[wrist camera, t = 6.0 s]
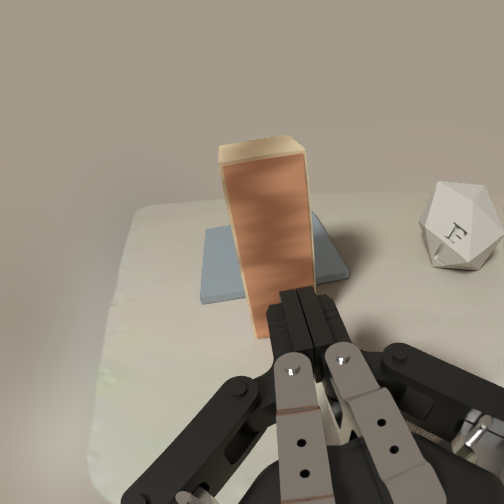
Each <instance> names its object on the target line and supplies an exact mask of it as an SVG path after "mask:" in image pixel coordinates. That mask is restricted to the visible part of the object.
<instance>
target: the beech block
mask: <svg viewBox="0 0 504 504" xmlns="http://www.w3.org/2000/svg"><path fill="white" fill-rule="evenodd" d="M218 165H219V170H220V175H221V180H222V185H223V190H224V195H225V200H226V205H227V210H228V214H229V219H230V224H231V229H232V234H233V239H234V243H235V248H236V253H237V258H238V262H239V267H240V272H241V277H242V281H243V286H244V291H245V295H246V300H247V304H248V309H249V314H250V318H251V323H252V327H253V332H254V336H255V340H256V339H262V338H268V337H270V334H269V329H268V323H267V317H266V312H267V310H268V307H269V305H272V304H278V303H280V299H279V291H284V290H290V289H295V290H296V288H300V287H305V286H310V285H312V286H313V288H314V291H315V293H316V278H315V260H314V243H313V228H312V215H311V202H310V191H309V180H308V169H307V159H306V150H305V149H304V148H303V147H302V146H301V145H300V144H299V143H298V142H296V141H295V140H294V139H293V138H292V137H291V136H289V135H285V136H278V137H270V138H264V139H258V140H251V141H245V142H240V143H234V144H228V145H223V146H220V147H219V158H218Z"/></svg>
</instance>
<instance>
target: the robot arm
mask: <svg viewBox="0 0 504 504" xmlns="http://www.w3.org/2000/svg"><path fill="white" fill-rule="evenodd" d="M279 299H280V303H278V304H272V305H269V307H268V310H267V312H266V317H267V323H268V329H269V334H270V340H271V346H272V351H273V357H274V361H273V365H272V367H271V368H270V369H269V370H268V371H267V372H266V373H265V374H263V375H261V376H259V377H257V378H255V379H251V378H249V377H246V376H236V377H233V378H230V379H229V380H227V381H226V382H225V383H224V384H223V385H222V386H221V387H220V389H219V390H218V391H217V392H216V393H215V394H214V396H213V397H212V398H211V399H210V400H209V401H208V403H207V404H206V405H205V406H204V407H203V408H202V410H201V411H200V412H199V413H198V414H197V415H196V416H195V417H194V419H193V420H192V421H191V422H190V423H189V424H188V425H187V427H186V428H185V429H184V430H183V431H182V432H181V433H180V434H179V435H178V437H177V438H176V439H175V440H174V441H173V442H172V443H171V444H170V445H169V446H168V447H167V449H166V450H165V451H164V452H163V453H162V454H161V455H160V456H159V457H158V458H157V459H156V460H155V461H154V462H153V464H152V465H151V466H150V467H149V468H148V469H147V470H146V471H145V472H144V473H143V474H142V475H141V476H140V477H139V478H138V479H137V480H136V481H135V482H134V483H133V484H132V485H131V486H130V487H129V488H128V489H127V490H126V491H125V493H124V494H123V496H122V498H121V504H219V503H218V501H217V500H216V499H215V498H214V497H215V496H216V495H217V493H218V492H219V491H220V490H221V489H222V487H223V486H224V485H225V484H226V482H227V481H228V480H229V479H230V477H231V476H232V475H233V474H234V472H235V471H236V470H237V468H238V467H239V466H240V465H241V463H242V462H243V461H244V459H245V458H246V457H247V455H248V454H249V453H250V451H251V450H252V449H253V447H254V446H255V445H256V443H257V442H258V441H259V439H260V438H261V436H262V435H263V434H264V432H265V431H266V429H267V427H269V426H271V425H273V424H275V423H276V424H277V440H278V456H279V460H277V461H275V462H274V463H272V464H271V465H269V466H268V467H267V468H265V469H264V470H263V471H262V472H261V473H260V474H259V475H258V477H257V478H256V479H255V481H254V482H253V484H252V485H251V487H250V488H249V489H248V491H247V492H246V494H245V495H244V496H243V498H242V499H241V501H240V502H239V503H238V504H504V486H503V484H502V482H501V480H500V479H499V478H498V476H499V474H500V472H501V469H502V467H503V465H504V388H503V387H501V386H498V385H496V384H494V383H491V382H489V381H487V380H485V379H482V378H480V377H478V376H476V375H474V374H471V373H469V372H467V371H465V370H462V369H460V368H458V367H456V366H454V365H451V364H449V363H447V362H445V361H442V360H440V359H438V358H436V357H434V356H431V355H429V354H427V353H425V352H423V351H421V350H418V349H416V348H414V347H412V346H410V345H407V344H405V343H393V344H390V345H389V346H387V347H386V348H385V349H384V351H383V352H367V351H363V350H360V349H359V348H358V347H357V346H355V345H354V344H353V343H352V342H351V340H350V338H349V335H348V333H347V331H346V328H345V326H344V324H343V321H342V319H341V317H340V314H339V312H338V311H337V308H336V305H335V303H334V301H333V300H332V299H331V298H330V297H328V296H327V295H326V294H324V295H319V296H316V293H315V291H314V288H313V286H312V285H310V286H305V287H300V288H296V290H295V289H290V290H284V291H279ZM314 378H315V381H316V383H319V382H322V383H323V387H324V397H325V400H326V403H327V406H328V408H329V411H330V414H331V416H332V419H333V421H334V424H335V427H336V429H337V432H338V436H339V443H340V445H339V446H326V441H325V434H324V428H323V422H322V416H321V410H320V407H319V406H318V401H317V395H316V389H315V383H314ZM404 419H405V420H407V421H409V422H411V423H413V424H415V425H417V426H418V427H420V428H422V429H424V430H426V431H428V432H430V433H432V434H434V435H436V436H438V437H440V438H442V439H444V440H446V441H449V442H451V443H452V450H453V452H454V453H452V452H451V451H448V450H447V449H445V448H443V447H441V446H439V445H437V444H436V443H434V442H432V441H430V440H428V439H427V438H425V437H423V436H421V435H419V434H416V433H414V432H410V430H409V428H408V426H407V424H406V422H405V420H404Z"/></svg>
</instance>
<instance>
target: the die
mask: <svg viewBox="0 0 504 504" xmlns="http://www.w3.org/2000/svg"><path fill="white" fill-rule="evenodd" d="M419 224H420V227H421V230H422V233H423V236H424V239H425V242H426V246H427V249H428V252H429V255H430V259H431V262H432V265H433V267H438V268H453V269H467V270H479V269H480V268H481V266H482V265H483V264H484V262H485V261H486V260H487V258H488V257H489V255H490V254H491V253H492V251H493V250H494V248H495V247H496V246H497V244H498V243H499V241H500V240H501V238H502V237H503V235H504V230H503V227H502V225H501V222H500V220H499V217H498V215H497V212H496V210H495V208H494V205H493V203H492V201H491V199H490V196H489V194H488V192H487V190H486V188H485V186H483V185H473V184H462V183H452V182H440V181H438V182H437V184H436V186H435V189H434V190H433V192H432V195H431V197H430V199H429V201H428V203H427V205H426V207H425V209H424V211H423V213H422V215H421V217H420V219H419Z"/></svg>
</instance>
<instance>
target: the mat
mask: <svg viewBox="0 0 504 504" xmlns="http://www.w3.org/2000/svg"><path fill="white" fill-rule="evenodd" d="M311 215H312V228H313V243H314V260H315V278H316V284H321V283H326V282H331V281H336V280H341V279H346V278H349V270H348V268H347V266H346V265H345V263H344V261H343V260H342V258H341V256H340V255H339V253H338V251H337V250H336V248H335V246H334V245H333V243H332V241H331V240H330V238H329V236H328V235H327V233H326V232H325V230H324V228H323V227H322V225H321V223H320V222H319V220H318V219H317V217H316V216H315V214H314V212H313V211H311ZM244 297H246V295H245V291H244V286H243V281H242V277H241V272H240V267H239V262H238V258H237V253H236V248H235V243H234V239H233V234H232V229H231V225H229V226H223V227H218V228H213V229H207V230H206V235H205V245H204V256H203V267H202V279H201V291H200V300H201V303H202V304H208V303H214V302H220V301H226V300H232V299H238V298H244Z"/></svg>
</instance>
